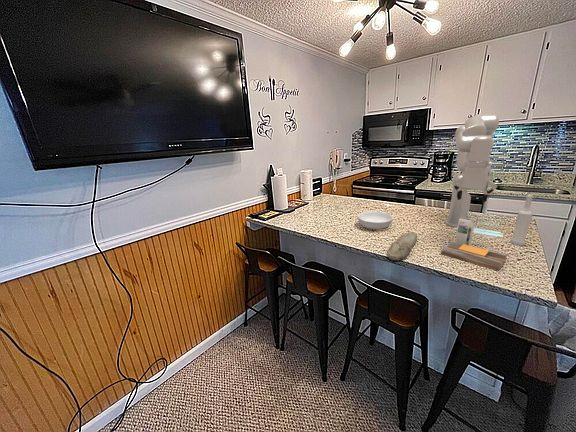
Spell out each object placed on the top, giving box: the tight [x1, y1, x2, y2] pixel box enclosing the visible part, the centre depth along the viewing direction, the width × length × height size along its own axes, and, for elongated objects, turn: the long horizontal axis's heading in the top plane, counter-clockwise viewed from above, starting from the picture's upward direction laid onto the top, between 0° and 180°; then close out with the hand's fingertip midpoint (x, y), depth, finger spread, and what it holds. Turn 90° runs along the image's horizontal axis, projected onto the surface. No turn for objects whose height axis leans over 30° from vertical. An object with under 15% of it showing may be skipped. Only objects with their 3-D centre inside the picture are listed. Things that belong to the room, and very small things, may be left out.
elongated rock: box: [386, 231, 418, 261], centre depth 127 cm, size 35×5×10 cm
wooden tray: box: [440, 240, 508, 272], centre depth 114 cm, size 12×22×4 cm, turn 40°
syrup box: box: [454, 217, 477, 246], centre depth 124 cm, size 6×6×14 cm
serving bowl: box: [357, 210, 394, 230], centre depth 156 cm, size 21×21×7 cm
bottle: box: [510, 194, 534, 246], centre depth 120 cm, size 5×5×25 cm
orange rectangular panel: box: [458, 244, 490, 257], centre depth 113 cm, size 7×10×1 cm
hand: (470, 200), depth 118 cm, fingers open, 9 cm apart
